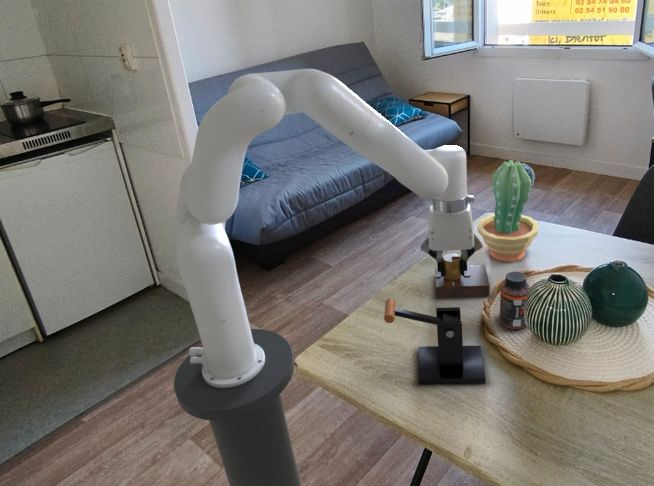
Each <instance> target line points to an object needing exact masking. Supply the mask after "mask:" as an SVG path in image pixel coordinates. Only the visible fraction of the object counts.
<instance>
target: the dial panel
mask: <svg viewBox="0 0 654 486" xmlns="http://www.w3.org/2000/svg"><path fill="white" fill-rule="evenodd" d="M464 275H465V276H461V277H460V278H459V279H457V280H447V279H446V278H445V277H444V276H443V277H441V272H438V269H437V266H434V278H435V295H436V299H452V298H482V297H490V282H489V277H488V274H487V269H486V265H485V264H476V265H475V264H473V265H471V264H470V265H467V271H464Z"/></svg>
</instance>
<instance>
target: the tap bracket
mask: <svg viewBox="0 0 654 486" xmlns="http://www.w3.org/2000/svg"><path fill="white" fill-rule="evenodd" d="M443 314H448V315H452V316H457V317H458V321H437V325H436V334H437V345H432V346H429V345H428V346H418V385H460V384H461V385H464V384H465V385H468V384H471V385H474V384H476V385H477V384H478V385H479V384H486V383H487V379H486V378H487V377H486V371H485V365H484V359H483V354H482V349H481V348H482V347H481V345H480V344H479V345H478V344H477V345H476V344H475V345H474V344H473V345H464V344H463V343H464V342H463V341H464V340H463V321H462V319H461V316H462V315H461V314H462V313H461V307H459V306H455V307H452V306H451V307H450V306H449V307H436V308H435V315H436V316H435V317H438V318H442V315H443Z"/></svg>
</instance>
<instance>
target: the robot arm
mask: <svg viewBox="0 0 654 486" xmlns="http://www.w3.org/2000/svg"><path fill="white" fill-rule="evenodd" d="M302 113H304V114H305V115H306V116H308V117H309V119H311V120H312V121H313V122H315V123H317V124H318V125H319V126H321V127H322V128H323V129H324V130H326V131H328V132H329V133H330V134H331V135H332V136H333V137H336V138H337V139H338V140H339V141H341V142H342V143H343V144H344V145H346V146H347V147H348V148H350V149H351V150H353V151H354V152H355V153H357V154H358V155H360V157H362V158H363V159H365V160H367V161H368V162H370V163H372V164H374V165H375V166H377V167H379V168H380V169H382V170H383V171H385V172H386V173H388V174H390V175H391V176H392V177H393V178H395V180H397V181H398V182H399V183H400V184H401V185H403V186H404V187H405V188H407V189H408V190H410V191H411V192H413V193H414V194H415V195H416V196H418V197H420V198H422V199H425V200H432V205H430V206H429V209H428V216H427V217H428V219H427V220H428V221H427V232H428V233H427V236H426V237H425V239H424V240H423V242H422V243H421V245H420V250H421V251H422V252H424V253H426V254H428V255H429V256H430V257H432V258H433V259H434V260H435V261H436V267H437V269H438V272H441V277H443V276H444V264H443V257H444V256H443V253H444V252H445V251H447V252H448V251H460V253H461V254H460V257H461V276H465V275H464V271H467V266H468V261H469V259H470V258H471V257H472V256H474V254H475V253H476V252H477V251H480V250H482V249H483V246H484V245H483V243H482V241H481V240H480V238H478V236H477V235H476V234H475V231H474V230H475V228H474V219H473V212H472V207H471V205H470V204H471V203H474V202H475V197H474V196H475V195H469V194H468V173H467V172H468V171H467V167H468V166H467V152H466V151H465V149H464V148H462V147H460V146H458V145H441V146H439V147H436V148H434V149H424V148H422V147H421V146H419V145H418V144H417V143H416V142H414V141H413V140H412V139H410V138H409V137H408V136H407V135H406V134H404V133H403V132H402V131H401V130H400V129H398V128H397V127H396V126H395V125H394V124H392V123H391V122H390V121H389V120H387V119H386V118H385V117H384V116H382V115H381V114H380V113H379V112H378V111H376V110H375V109H374V108H373V107H372V106H370V105H369V104H368V103H367V102H366V101H365V100H363V99H362V98H361V97H359V95H357V94H356V93H354V91H352V90H351V89H350V88H349V87H348V86H346V85H345V84H344V83H343V82H342V81H340V80H339V79H338V78H336V77H335V76H333V75H331V74H330V73H328V72H325V71H322V70H320V69H316V68H298V69H290V70H279V71H277V70H276V71H266V72H265V71H264V72H254V73H246V74H243V75H241V76H238V77H237V78H236V79H235V80H234V81H233V82H231V84H230V86H229V89H228V92H227V94H226V95H224V96H222V97H221V98H220V99H218V100H217V101H216V102H214V104H212V105H211V107H210V108H209V109H208V110H207V111H206V112H205V114H204V116H203V117H202V119H201V121H200V123H199V126H198V129H197V133H196V136H195V142H194V148H193V152H192V159H191V164H189V165H188V166H187V167H186V169H184V172H183V173H182V176H181V179H180V183H179V184H180V185H179V191H178V200H177V206H176V214H175V221H174V234H173V235H174V247H175V258H176V264H177V268H178V272H179V275H180V278H181V280H182V283H183V286H184V289H185V292H186V295H187V298H188V301H189V305H190V308H191V311H192V314H193V317H194V321H195V325H196V327H197V331H198V334H199V338H200V341H201V345H203V348H200V346H192V347H190V348H189V350H188V356H190V357H191V358H190V363H191V364H198V363H201V364H202V365H203V367H202V374H203V378H204V380H205V381H206V382H207V383H208V384H209V385H211V386H214V387H218V388H229V387H234V386H238V385H241V384H243V383H245V382H247V381H249V380H251V379H252V378H253V377H255V376H256V375H257V374H258V373H259V372H260V371H261V369H262V368H263V366H264V363H265V355H264V351H263V349H262V348H261V347H260V346H258V345H257V344H254V342H253V338H252V333H251V329H252V328H251V325H250V321H249V318H248V313H247V309H246V304H245V300H244V297H243V294H242V289H241V285H240V281H239V280H240V279H239V276H238V271H237V265H236V260H235V256H234V251H233V248H232V245H231V242H230V239H229V237H228V235H227V232H226V223H227V221H228V220H229V219H230V218H231V217H232V216H233V214H234V213H235V211H236V209H237V206H238V202H239V197H240V187H241V181H242V174H243V169H244V162H245V158H246V154H247V150H248V148H249V146H250V143H251V142H252V141H253V140H254V139H255V138H256V137H257V136H259V135H260V134H262V133H264V132H266V131H268V130H271V129H273V128H275V127H276V126H277V125H278V124H279V123H280V122H281V121H282V119H283V118H284V116H289V115H295V114H302ZM199 356H202V357H199Z"/></svg>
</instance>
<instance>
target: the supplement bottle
mask: <svg viewBox="0 0 654 486" xmlns="http://www.w3.org/2000/svg"><path fill="white" fill-rule="evenodd" d="M531 288H532V287H531V286H530V284H529V283H528V282H527V275H526V274H525V273H524V272H522V271H518V270H517V271H516V270H512V271H509V272H507V273H506V274H505V280H503V282H502V283H501V285H500V293H499V294H500V298H499V319H500V323H501V324H502V325H503V326H504V327H506V328H507V329H510V330H523V329H524V328H526V327H527V326H528V325H526V323H525V318H524V302H525V299H526V296H527V294H528V292H529V291H530V289H531Z"/></svg>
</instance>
